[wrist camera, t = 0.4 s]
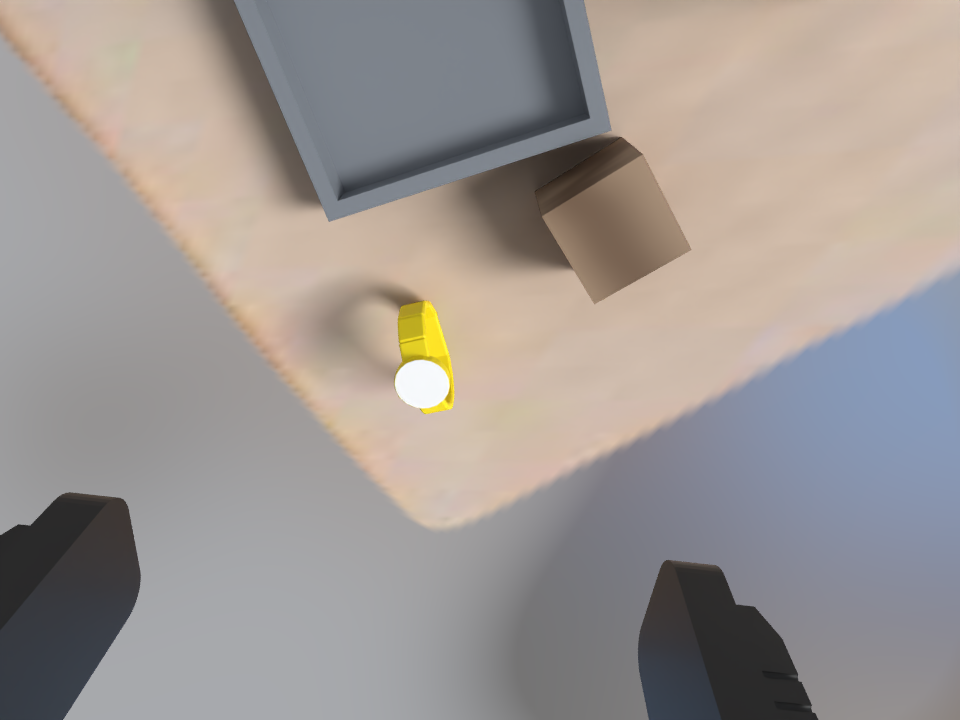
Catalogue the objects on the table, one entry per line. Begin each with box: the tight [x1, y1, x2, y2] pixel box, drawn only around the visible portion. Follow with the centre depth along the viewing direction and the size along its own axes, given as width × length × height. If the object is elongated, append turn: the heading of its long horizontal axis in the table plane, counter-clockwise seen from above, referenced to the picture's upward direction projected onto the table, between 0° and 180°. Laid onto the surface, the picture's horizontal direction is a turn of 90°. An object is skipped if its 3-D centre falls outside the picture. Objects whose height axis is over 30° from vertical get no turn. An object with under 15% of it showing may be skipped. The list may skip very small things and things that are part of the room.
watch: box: [394, 301, 454, 414], centre depth 34 cm, size 6×3×6 cm, turn 14°
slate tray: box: [234, 0, 612, 222], centre depth 28 cm, size 14×14×3 cm
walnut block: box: [535, 137, 691, 304], centre depth 31 cm, size 5×5×5 cm
